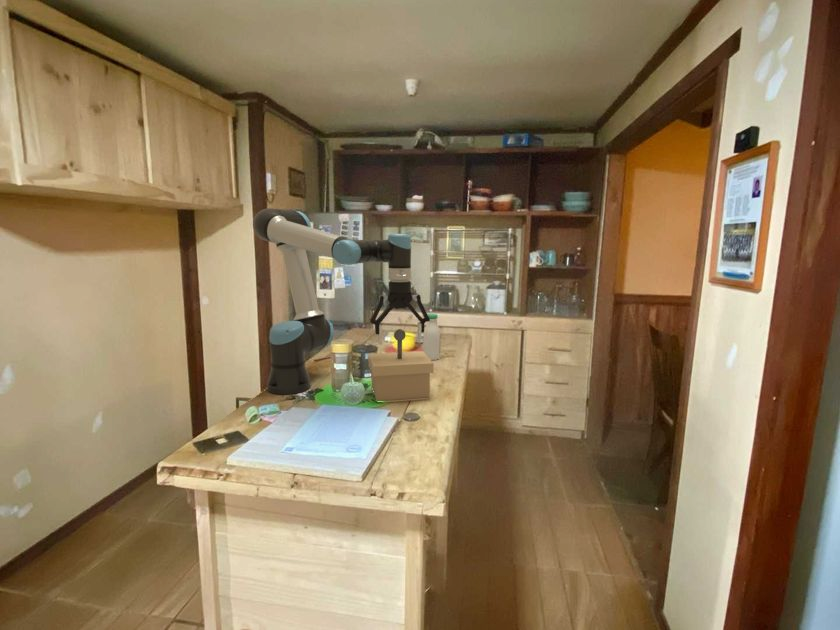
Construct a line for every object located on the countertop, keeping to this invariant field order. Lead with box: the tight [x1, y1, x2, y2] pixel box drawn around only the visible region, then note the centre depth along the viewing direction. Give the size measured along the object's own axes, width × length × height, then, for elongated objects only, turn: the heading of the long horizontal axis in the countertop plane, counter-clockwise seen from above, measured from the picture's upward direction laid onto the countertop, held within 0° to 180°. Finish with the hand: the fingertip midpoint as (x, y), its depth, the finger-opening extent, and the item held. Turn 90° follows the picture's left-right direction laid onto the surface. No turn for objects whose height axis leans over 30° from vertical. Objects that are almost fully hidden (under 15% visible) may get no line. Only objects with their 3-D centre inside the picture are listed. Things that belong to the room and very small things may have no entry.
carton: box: [371, 373, 431, 403], centre depth 154 cm, size 18×14×12 cm
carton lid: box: [367, 328, 434, 376], centre depth 152 cm, size 20×16×14 cm
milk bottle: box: [422, 313, 441, 361], centre depth 198 cm, size 8×8×20 cm
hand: (400, 342), depth 152 cm, fingers open, 13 cm apart
